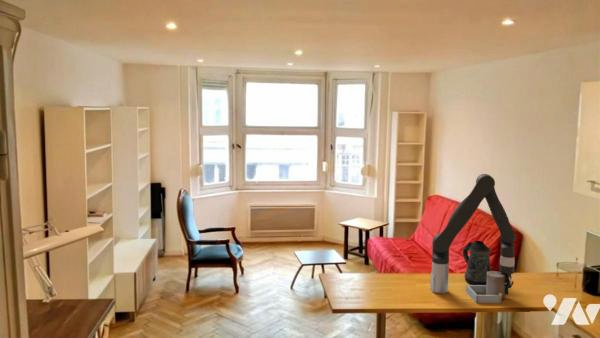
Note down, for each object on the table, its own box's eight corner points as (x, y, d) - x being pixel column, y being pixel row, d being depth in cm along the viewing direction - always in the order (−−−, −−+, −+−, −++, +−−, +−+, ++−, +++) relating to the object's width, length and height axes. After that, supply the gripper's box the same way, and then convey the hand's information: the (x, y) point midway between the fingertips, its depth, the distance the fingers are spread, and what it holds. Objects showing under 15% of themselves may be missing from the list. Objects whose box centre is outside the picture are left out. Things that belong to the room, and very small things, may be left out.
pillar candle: (505, 296, 249) (506, 270, 248) (503, 302, 241) (504, 275, 239) (487, 293, 254) (488, 267, 253) (484, 298, 246) (485, 272, 245)
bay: (475, 302, 240) (476, 293, 240) (465, 291, 256) (466, 283, 255) (501, 302, 240) (501, 293, 239) (489, 292, 255) (490, 283, 255)
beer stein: (490, 288, 260) (492, 247, 258) (456, 282, 271) (458, 242, 268) (495, 280, 274) (497, 241, 271) (463, 274, 285) (464, 236, 282)
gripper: (495, 260, 252) (494, 289, 254) (505, 267, 239) (504, 298, 241) (508, 260, 252) (507, 289, 254) (519, 267, 239) (518, 298, 241)
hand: (505, 293), depth 247 cm, fingers closed
